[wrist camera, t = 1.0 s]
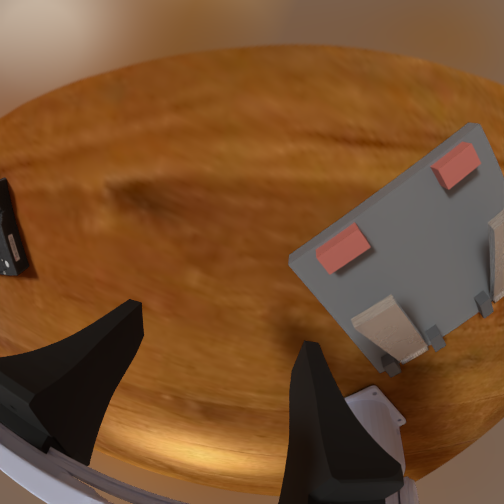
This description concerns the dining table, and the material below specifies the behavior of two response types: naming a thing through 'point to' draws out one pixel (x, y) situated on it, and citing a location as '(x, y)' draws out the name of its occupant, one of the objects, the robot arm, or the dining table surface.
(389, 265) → the clamp board
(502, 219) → the right strap
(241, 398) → the dining table surface
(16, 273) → the disk drive
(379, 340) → the left strap
